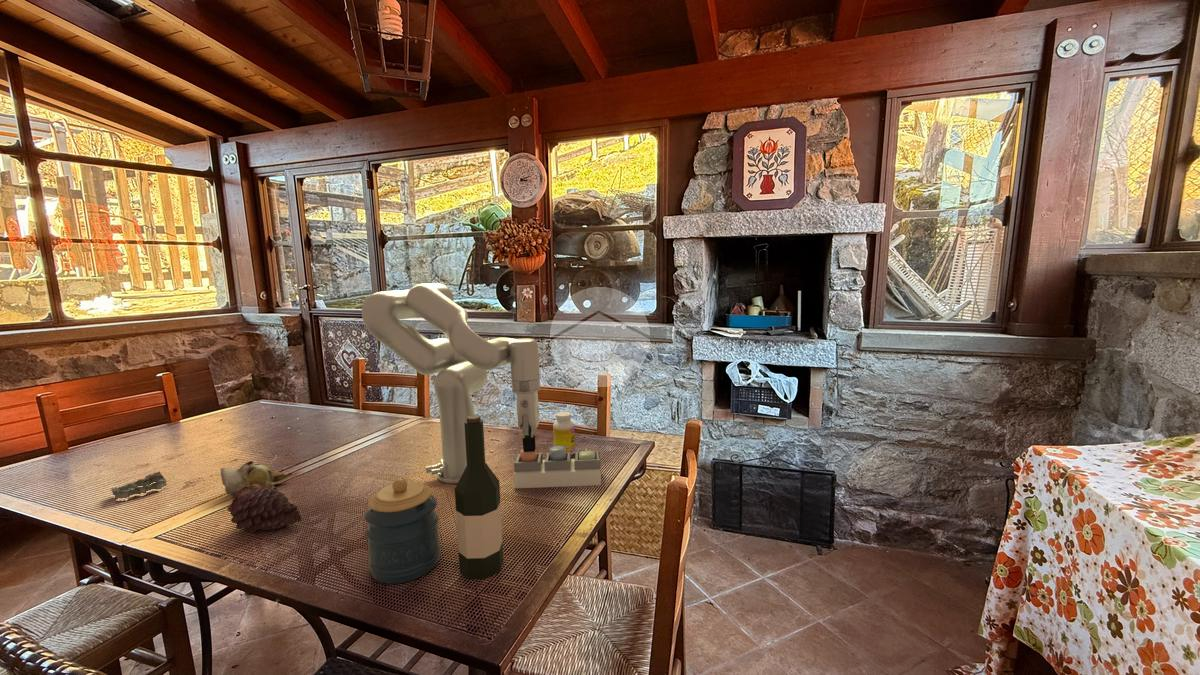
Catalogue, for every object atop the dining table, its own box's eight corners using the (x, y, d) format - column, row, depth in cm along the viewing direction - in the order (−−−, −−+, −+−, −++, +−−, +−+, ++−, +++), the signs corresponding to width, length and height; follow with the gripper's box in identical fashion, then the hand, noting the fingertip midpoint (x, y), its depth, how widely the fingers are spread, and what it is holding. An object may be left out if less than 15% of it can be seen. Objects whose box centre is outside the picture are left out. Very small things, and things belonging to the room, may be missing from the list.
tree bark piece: (164, 483, 133) (162, 470, 132) (169, 490, 128) (167, 476, 128) (111, 497, 125) (109, 482, 124) (114, 505, 120) (112, 490, 120)
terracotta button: (519, 464, 126) (519, 453, 126) (521, 458, 131) (521, 448, 130) (536, 464, 126) (535, 453, 126) (537, 457, 131) (537, 447, 130)
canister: (401, 541, 101) (395, 462, 98) (454, 550, 97) (448, 469, 94) (353, 579, 88) (345, 490, 86) (411, 591, 84) (404, 498, 82)
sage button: (579, 467, 127) (579, 457, 127) (579, 461, 131) (579, 451, 131) (595, 467, 127) (595, 456, 127) (595, 460, 132) (594, 450, 131)
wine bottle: (457, 560, 94) (447, 414, 90) (499, 549, 97) (491, 408, 93) (462, 584, 86) (452, 426, 82) (507, 572, 89) (500, 419, 85)
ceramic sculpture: (231, 454, 129) (292, 453, 132) (233, 484, 130) (293, 482, 133) (208, 470, 119) (274, 468, 122) (210, 503, 120) (276, 500, 123)
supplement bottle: (574, 457, 145) (573, 417, 144) (552, 457, 145) (551, 417, 144) (575, 449, 152) (574, 410, 150) (555, 449, 152) (554, 411, 150)
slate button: (549, 462, 127) (549, 452, 126) (550, 456, 131) (550, 446, 131) (565, 462, 127) (565, 451, 126) (566, 456, 131) (566, 445, 131)
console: (514, 488, 125) (513, 465, 124) (518, 474, 134) (517, 452, 133) (601, 485, 126) (600, 461, 125) (599, 471, 134) (599, 449, 134)
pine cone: (317, 513, 113) (308, 490, 107) (287, 552, 106) (275, 530, 99) (251, 492, 115) (238, 468, 108) (216, 529, 107) (200, 506, 101)
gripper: (537, 391, 118) (541, 460, 121) (542, 378, 133) (545, 440, 136) (507, 392, 118) (511, 462, 121) (515, 379, 133) (519, 441, 135)
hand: (529, 450), depth 128 cm, fingers closed
